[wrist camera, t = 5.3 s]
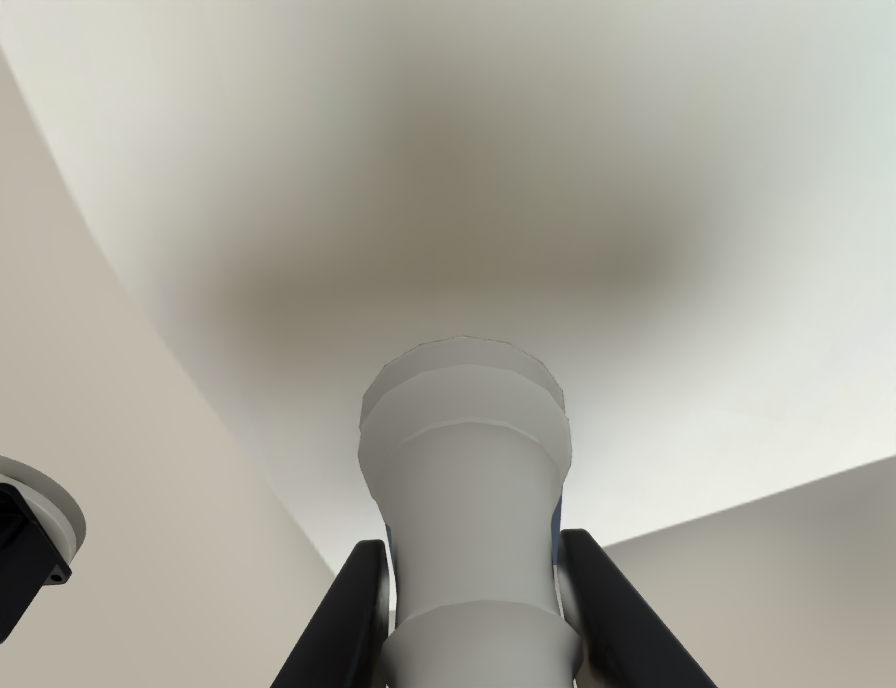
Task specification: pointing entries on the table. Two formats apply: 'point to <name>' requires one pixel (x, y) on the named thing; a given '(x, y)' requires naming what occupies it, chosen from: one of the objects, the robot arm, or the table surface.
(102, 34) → the table surface
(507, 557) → the rook chess piece
